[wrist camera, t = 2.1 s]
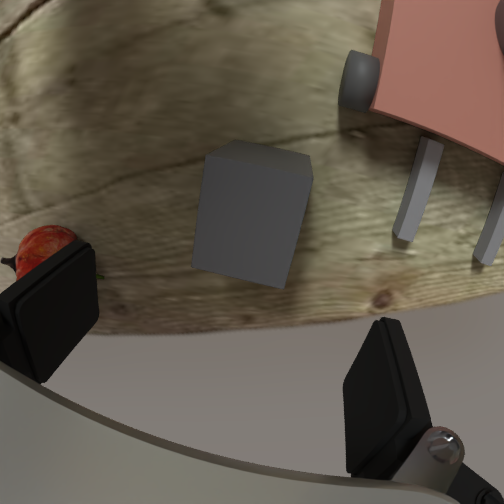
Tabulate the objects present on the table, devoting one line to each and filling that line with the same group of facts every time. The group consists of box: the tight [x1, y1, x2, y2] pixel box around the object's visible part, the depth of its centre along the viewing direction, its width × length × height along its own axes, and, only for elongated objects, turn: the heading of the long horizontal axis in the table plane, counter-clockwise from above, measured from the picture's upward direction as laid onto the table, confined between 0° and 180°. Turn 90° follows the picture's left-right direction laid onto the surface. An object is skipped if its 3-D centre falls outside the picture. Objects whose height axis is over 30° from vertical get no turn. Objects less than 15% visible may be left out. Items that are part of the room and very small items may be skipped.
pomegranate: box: [1, 225, 104, 281], centre depth 24 cm, size 7×7×10 cm
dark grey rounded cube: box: [191, 140, 313, 289], centre depth 19 cm, size 6×5×7 cm
